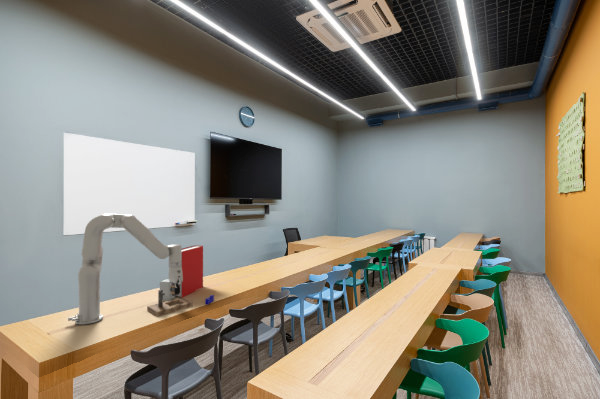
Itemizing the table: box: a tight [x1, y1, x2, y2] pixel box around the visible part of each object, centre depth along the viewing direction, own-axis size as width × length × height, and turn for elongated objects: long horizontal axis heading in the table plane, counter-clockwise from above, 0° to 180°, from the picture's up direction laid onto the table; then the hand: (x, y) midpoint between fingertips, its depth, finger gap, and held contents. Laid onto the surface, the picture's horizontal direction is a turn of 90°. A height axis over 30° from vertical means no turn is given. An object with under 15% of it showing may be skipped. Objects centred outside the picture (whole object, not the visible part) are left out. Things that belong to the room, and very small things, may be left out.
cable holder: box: [204, 294, 215, 305], centre depth 196 cm, size 8×4×4 cm, turn 170°
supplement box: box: [159, 278, 176, 302], centre depth 204 cm, size 7×7×13 cm
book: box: [177, 244, 204, 298], centre depth 221 cm, size 27×8×32 cm, turn 166°
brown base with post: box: [146, 289, 193, 317], centre depth 186 cm, size 22×14×12 cm, turn 138°
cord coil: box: [171, 282, 179, 297], centre depth 188 cm, size 5×5×8 cm
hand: (175, 292), depth 188 cm, fingers closed on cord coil, 4 cm apart
